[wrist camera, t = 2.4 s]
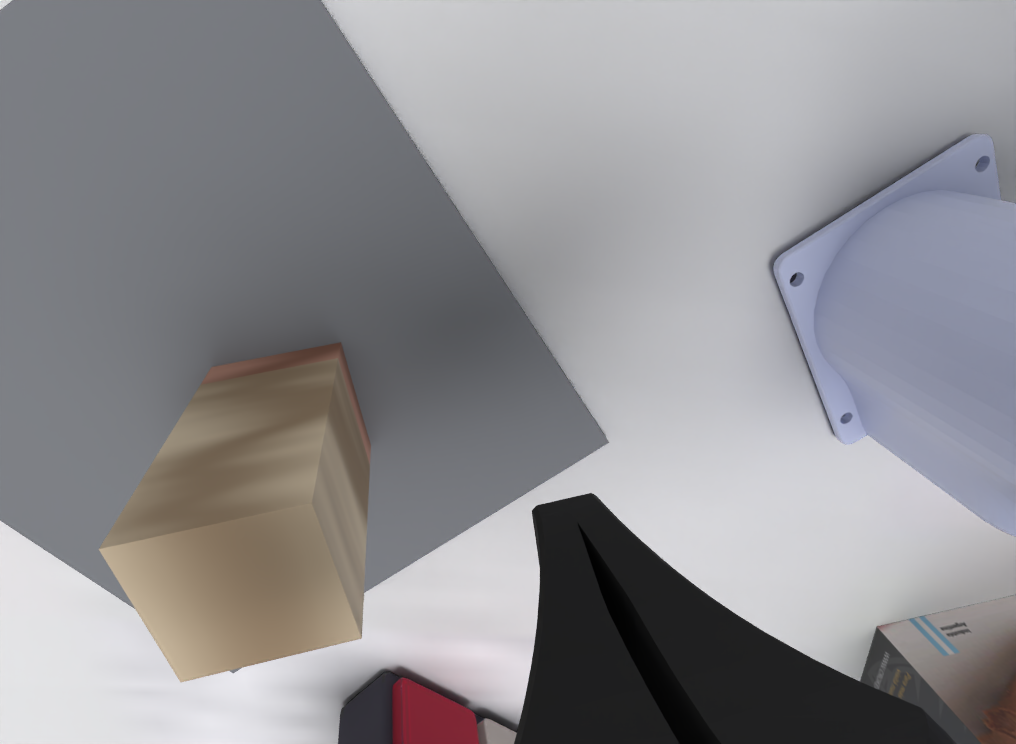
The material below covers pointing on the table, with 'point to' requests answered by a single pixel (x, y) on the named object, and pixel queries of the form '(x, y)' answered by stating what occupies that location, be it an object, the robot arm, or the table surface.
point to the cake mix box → (953, 668)
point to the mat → (242, 270)
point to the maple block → (252, 517)
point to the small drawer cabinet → (413, 717)
